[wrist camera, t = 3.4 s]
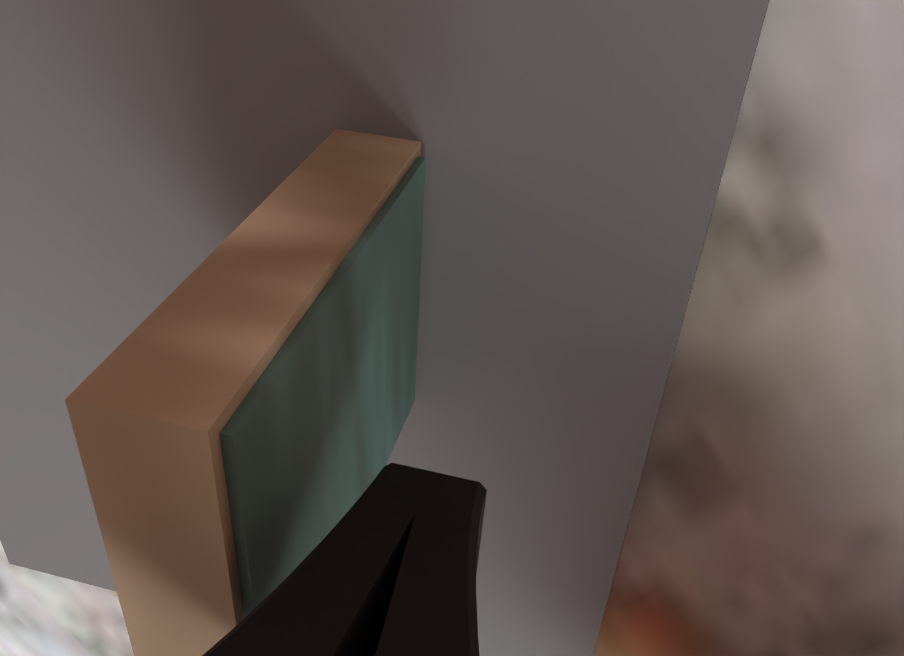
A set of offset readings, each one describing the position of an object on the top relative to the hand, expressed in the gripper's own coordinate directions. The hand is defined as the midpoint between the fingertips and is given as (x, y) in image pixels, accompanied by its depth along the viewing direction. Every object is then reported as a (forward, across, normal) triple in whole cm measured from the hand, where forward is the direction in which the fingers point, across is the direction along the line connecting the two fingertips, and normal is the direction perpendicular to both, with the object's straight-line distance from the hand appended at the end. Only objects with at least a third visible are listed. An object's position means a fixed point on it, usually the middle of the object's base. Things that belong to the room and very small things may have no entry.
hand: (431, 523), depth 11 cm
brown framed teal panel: (+6, +3, 0) cm, 6 cm away
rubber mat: (+6, +6, +2) cm, 9 cm away
